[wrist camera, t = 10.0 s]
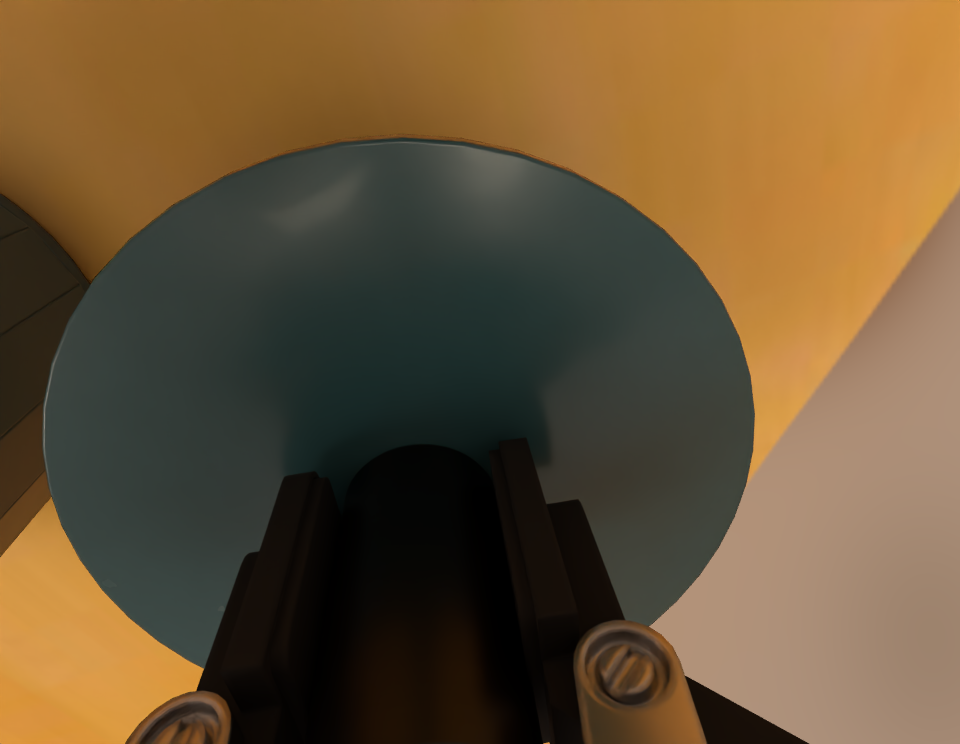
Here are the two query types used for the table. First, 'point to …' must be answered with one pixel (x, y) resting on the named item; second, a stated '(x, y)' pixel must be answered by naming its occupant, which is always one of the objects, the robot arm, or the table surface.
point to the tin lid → (396, 412)
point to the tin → (28, 357)
